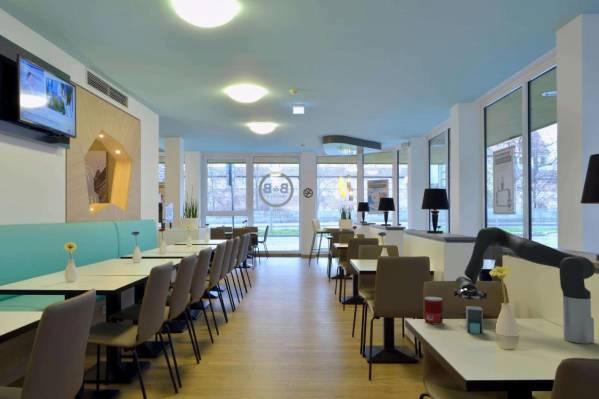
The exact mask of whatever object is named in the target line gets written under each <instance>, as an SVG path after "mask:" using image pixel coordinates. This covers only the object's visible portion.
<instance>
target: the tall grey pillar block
mask: <svg viewBox="0 0 599 399" xmlns="http://www.w3.org/2000/svg"><path fill="white" fill-rule="evenodd" d="M465 308H466V309H465V315H466V316H465V319H466V321H465V324H466V325H465V328H466V330H465V331H466V333H467V334H468V333H469V321H475V322H479V323H480V334H482V335H484V321H483V320H484V318H483V317H484V312H483V308H482V306H472V305H471V306H469V305H466V306H465Z"/></svg>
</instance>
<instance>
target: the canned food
mask: <svg viewBox="0 0 599 399" xmlns="http://www.w3.org/2000/svg"><path fill="white" fill-rule="evenodd" d="M423 301H424V322H425V323H427V322H428V323H427V324H431V323H441V324H443V316H444V314H443V311H444V310H443V309H444V308H443V302H444V301H443V298H442V297H437V296H425V297H424V300H423Z"/></svg>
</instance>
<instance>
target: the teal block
mask: <svg viewBox="0 0 599 399" xmlns="http://www.w3.org/2000/svg"><path fill="white" fill-rule="evenodd" d="M468 333H470V334H471V333H472V334H473V333H474V334H481V331H480V323H479V322H475V321H469V330H468Z"/></svg>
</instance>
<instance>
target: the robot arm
mask: <svg viewBox="0 0 599 399" xmlns="http://www.w3.org/2000/svg"><path fill="white" fill-rule="evenodd" d="M475 238H476V239H475V242H474V246H473V250H472V253H471V256H470V258H469V262H468V263H467V265H466V267H465V270H464V273H463V274H464V276H461V275H460V276H458V277H457V278H456V280H455V282H461V284H460V290H458V289H457V288H454V289H453V296H454V297H457V296H458V297H459V298H460V299H463V298H464V299H465V300H468V301H471V300H474V299H480V300H483V299H484V300H485V299H486V300H487V299H488V293H487V291H486V290H482V291H480V290H478V288H476V287H475V284H476V282H477V283H478V279H479V276H480V274H481V272H482V270H483V267H484V264H485V262H484V256H485V252H486V251H487V249H488V248H489V247H494V246H495V247H496V246H498V247H502V248H506V249H509V250H511V251H512V252H513V254H515V256H517V257H519V258H520V259H522V260H525V261H527V262H530V263H533V264H536V265H543V266H547V267H553V268H557V269H559V284H560V289H561V291H562V308H563V309H562V310H563V311H562V313H563V314H562V315H563V339H564V340H565V341H567V342H571V343H575V344H585V345H586V344H592V343H593V344H594V343H595V321H594V320H595V319H594V317H592V301H591V299H592V294H591V291H590V290H589V289H587V288H586V285H585V280H588V279H589V278H591V277H593V276H594V275H595V273H596V267H595V264H594V263H593V262H592V261H591V260H590V259H589V258H587V257H585V256H582V255H581V256H580V255H576V254H571V253H568V252H565V251H564V252H563V251H561V250H558V249H556V248H554V247H551V246H549V245H547V244H543V243H540V242H538V241H536V240H532V239H529V238H525V237H523V236H519V235H515V234H513V233H510V232H509V231H506V230H504V229H502V228H500V227H497V226H491V227H490V226H488V227H483V228H481V229H479V231H478V232H477V235H476V237H475ZM465 276H466V277H465Z"/></svg>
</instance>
